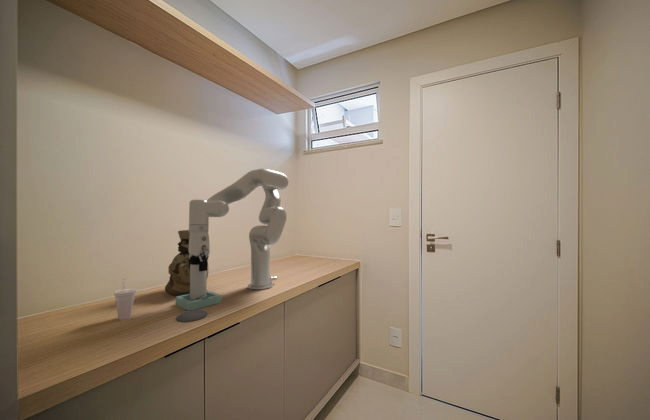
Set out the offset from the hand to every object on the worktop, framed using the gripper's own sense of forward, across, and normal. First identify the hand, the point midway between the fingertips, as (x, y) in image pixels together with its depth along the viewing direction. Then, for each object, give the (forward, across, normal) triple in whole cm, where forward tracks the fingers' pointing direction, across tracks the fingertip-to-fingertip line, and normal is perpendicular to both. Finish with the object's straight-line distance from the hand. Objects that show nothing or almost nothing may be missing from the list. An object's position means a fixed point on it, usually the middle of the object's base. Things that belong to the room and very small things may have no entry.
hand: (197, 269), depth 109 cm
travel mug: (+14, 0, -1) cm, 14 cm away
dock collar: (+14, 0, -1) cm, 14 cm away
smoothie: (+15, +5, +23) cm, 28 cm away
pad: (+14, -13, +7) cm, 21 cm away
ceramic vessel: (+14, +23, -6) cm, 28 cm away
